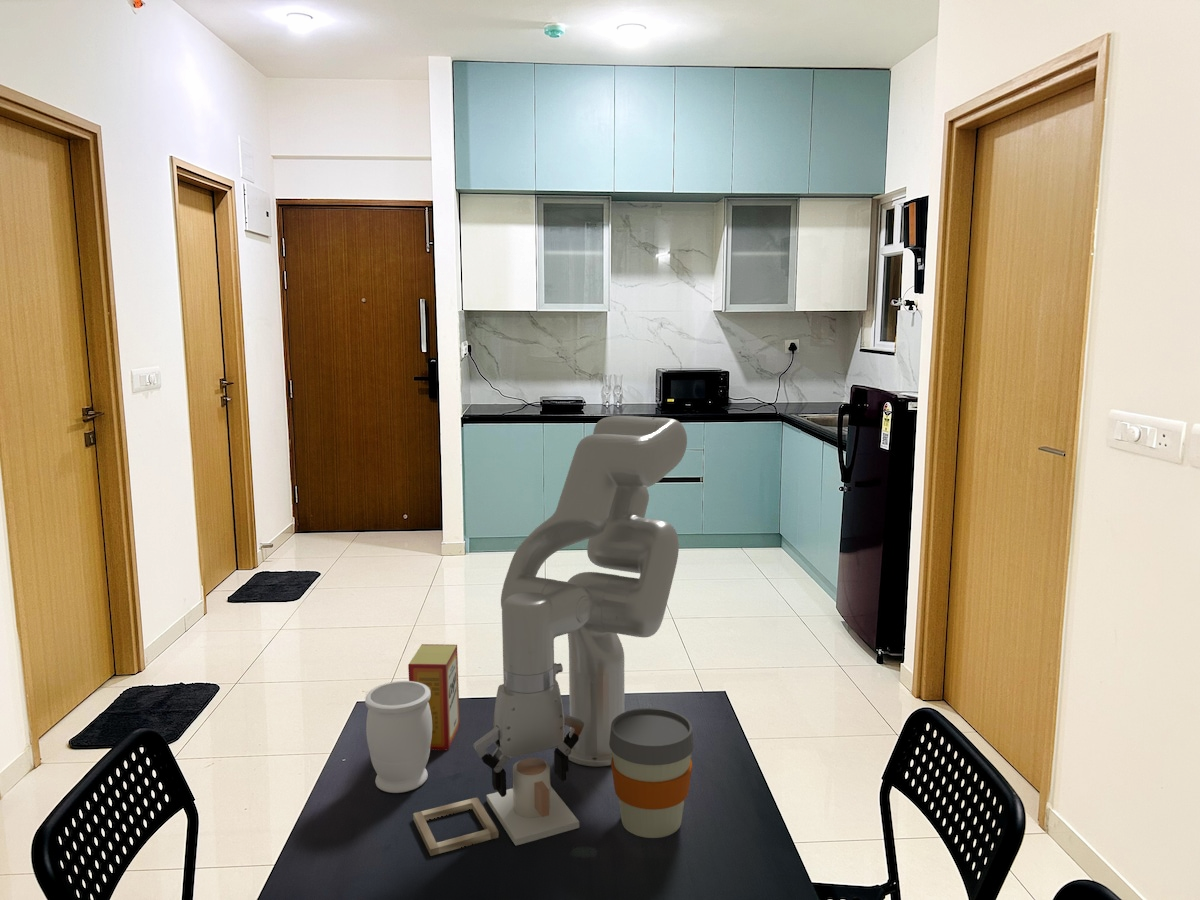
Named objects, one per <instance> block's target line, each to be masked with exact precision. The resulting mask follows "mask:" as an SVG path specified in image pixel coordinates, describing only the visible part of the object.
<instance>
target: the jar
mask: <svg viewBox="0 0 1200 900" xmlns="http://www.w3.org/2000/svg"><path fill="white" fill-rule="evenodd" d="M430 697H431V691H430V688H429V687H428V686H427V685H425V684H423V683H420V682H415V681H409V680H398V681H392V682H386V683H383V684H379V685H378V686H375V687H373V688H371V689H370V690H369V691H368V692H367V693H365V696H364V705H365V706H366V708H367V709H368V710H367V715H366V724H365V725H366V726H365V729H366V730H365V732H366V736H365V737H366V742H367V747H368V749H369V750H368V751H369V754H370V756H369V757H370V761H371V764H372V767H373V769H374V770H375V773H376V774H377V775H376V776H375V781H374V782H375V786H376V787H377V789H379V790H380V791H383V792H386V793H392V794H399V793H406V792H410V791H414V790H416V789H418V788H419V787H421V786H423V785H424V783H425V782H427V779H428V777H429V776H428V773H429V772H428V771H427V769H426V766H427V764H428V762H429V757H430V754H431V750H430V745H431V739H432V716H431V710H430V706H429V703H428V701H429V699H430Z"/></svg>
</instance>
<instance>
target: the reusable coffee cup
mask: <svg viewBox="0 0 1200 900" xmlns="http://www.w3.org/2000/svg"><path fill="white" fill-rule="evenodd" d="M609 746H610V749H611V750H612V753H613V757H612V759H611V765H610V766H611V772H612V778H613V779H612V781H613V787H614V792H615V795H616V796H617V798H618V803H619V809H620V811H619V812H620V818H621V824H622V825H623V827H624V829H626V831H627V832H630V833H631V834H633V835H635V836H637V837H640V838H641V837H642V838H648V839H649V838H650V839H659V838H665V837H668V836H670V835H673V834H674V833H675V832H677V831H679V829H680V827H681V826H682V821H683V820H682V819H683V814H684V807H685V806H684V805H685V799H686V798H687V797H688V794H689V792H690V785H691V778H692V771H693V761H692V759H691V758H692V753H693V751H694V749H695V739H694V728H693V725H692V722H691V721H690V719H688V718H687V717H686V716H684V714H681V713H679V712H676V711H673V710H669V709H664V708H656V707H654V708H653V707H642V708H641V707H640V708H635V709H631V710H627V711H624V713H622V714H620V715H618V716H617V717H616V718H615V719H614V720H613V721H612V724H611V731H610V740H609Z"/></svg>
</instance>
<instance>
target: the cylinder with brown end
mask: <svg viewBox="0 0 1200 900" xmlns="http://www.w3.org/2000/svg"><path fill="white" fill-rule="evenodd" d="M550 786H551V766H550V763H549V762H547V761H546V760H545V759H542V758H539V757H526V758H523V759H520V760H518V761H517V762H515V763H514V764H513V766H512V788H513V809H514V812H515V813H516V814H517V815H519V816H521V817H525V818H536V817H540V816H541V817H545V816H548V815H549V810H550Z"/></svg>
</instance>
